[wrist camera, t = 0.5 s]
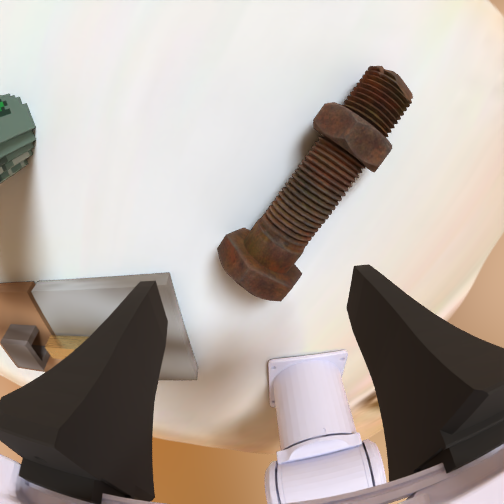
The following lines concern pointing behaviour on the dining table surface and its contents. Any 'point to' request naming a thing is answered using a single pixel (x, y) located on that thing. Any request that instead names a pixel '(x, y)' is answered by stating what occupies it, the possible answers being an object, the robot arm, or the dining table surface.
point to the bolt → (317, 185)
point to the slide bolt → (63, 345)
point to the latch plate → (83, 318)
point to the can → (14, 135)
